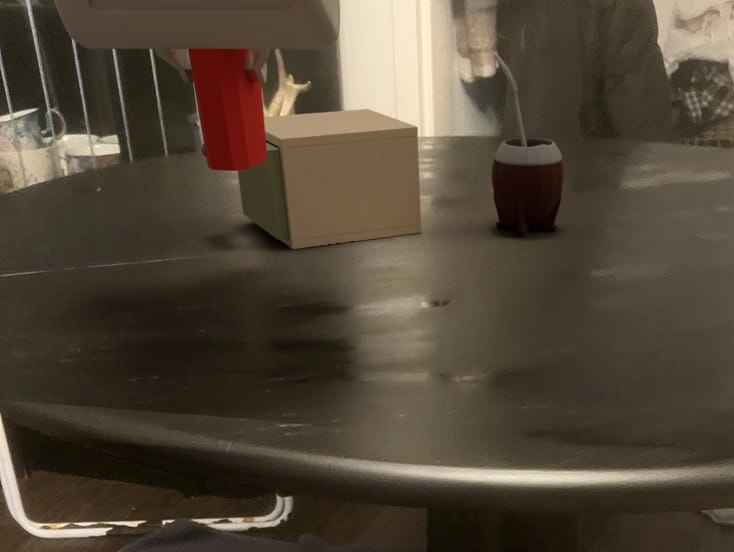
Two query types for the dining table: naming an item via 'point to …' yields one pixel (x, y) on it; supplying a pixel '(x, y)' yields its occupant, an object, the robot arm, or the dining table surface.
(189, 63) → the robot arm
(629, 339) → the dining table surface
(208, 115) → the french fries
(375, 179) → the cabinet
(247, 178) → the drawer
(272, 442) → the dining table surface
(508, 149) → the mate gourd
